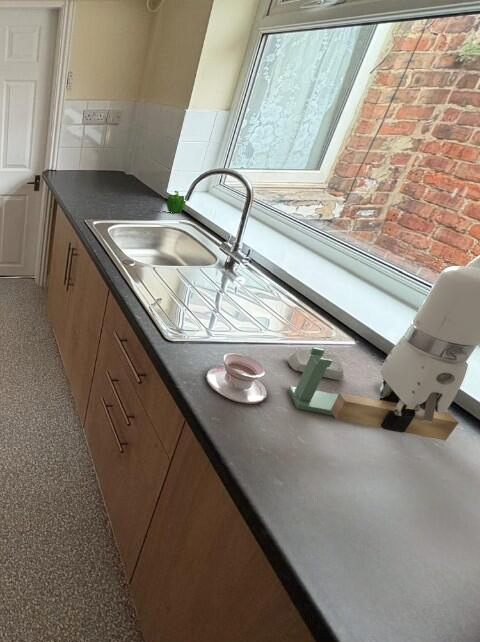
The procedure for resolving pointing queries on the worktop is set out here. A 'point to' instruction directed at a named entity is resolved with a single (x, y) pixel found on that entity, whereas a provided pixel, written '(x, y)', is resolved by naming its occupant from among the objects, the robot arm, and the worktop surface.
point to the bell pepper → (175, 203)
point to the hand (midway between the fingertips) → (387, 422)
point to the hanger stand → (313, 386)
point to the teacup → (238, 379)
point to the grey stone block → (302, 356)
